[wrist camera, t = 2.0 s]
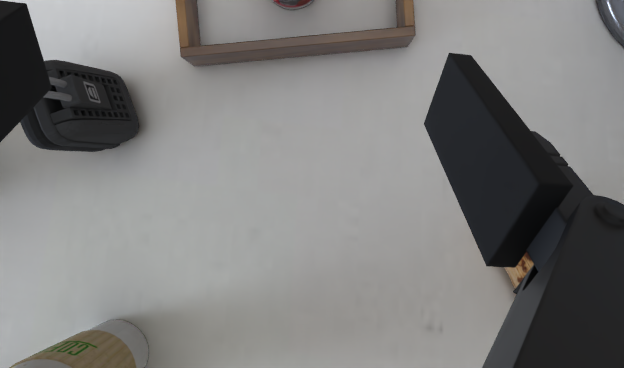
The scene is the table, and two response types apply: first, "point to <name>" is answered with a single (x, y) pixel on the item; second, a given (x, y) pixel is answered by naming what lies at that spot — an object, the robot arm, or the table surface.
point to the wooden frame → (289, 40)
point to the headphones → (81, 110)
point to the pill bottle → (292, 3)
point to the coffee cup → (95, 349)
